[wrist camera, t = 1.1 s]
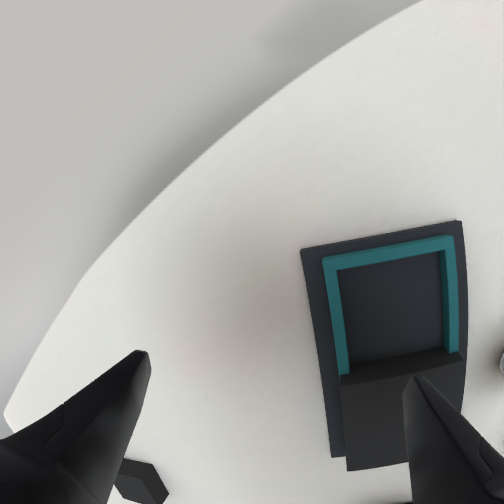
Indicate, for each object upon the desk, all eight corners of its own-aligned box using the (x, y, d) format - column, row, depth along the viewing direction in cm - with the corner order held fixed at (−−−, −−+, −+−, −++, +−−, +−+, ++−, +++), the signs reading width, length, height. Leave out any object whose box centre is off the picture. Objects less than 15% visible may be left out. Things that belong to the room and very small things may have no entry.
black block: (169, 494, 30) (159, 508, 27) (133, 485, 32) (123, 498, 29) (152, 464, 30) (140, 479, 27) (116, 456, 31) (104, 468, 28)
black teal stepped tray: (454, 427, 21) (466, 453, 17) (331, 451, 24) (329, 480, 20) (456, 220, 19) (479, 222, 15) (300, 248, 22) (294, 257, 19)
